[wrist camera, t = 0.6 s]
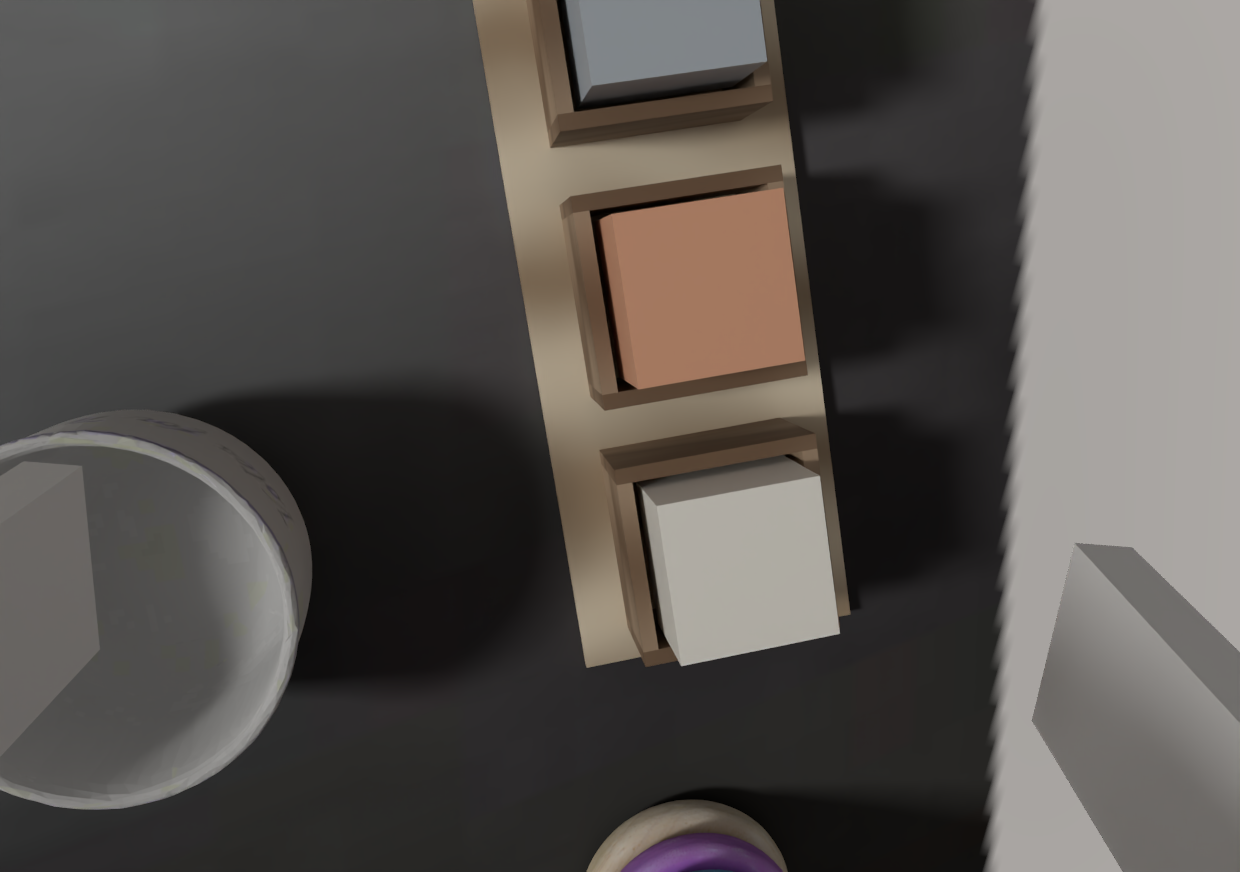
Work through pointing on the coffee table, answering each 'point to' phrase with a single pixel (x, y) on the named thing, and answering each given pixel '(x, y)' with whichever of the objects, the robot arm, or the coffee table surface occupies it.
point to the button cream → (738, 558)
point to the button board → (579, 315)
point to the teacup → (167, 610)
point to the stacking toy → (689, 841)
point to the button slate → (659, 47)
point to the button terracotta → (701, 288)
